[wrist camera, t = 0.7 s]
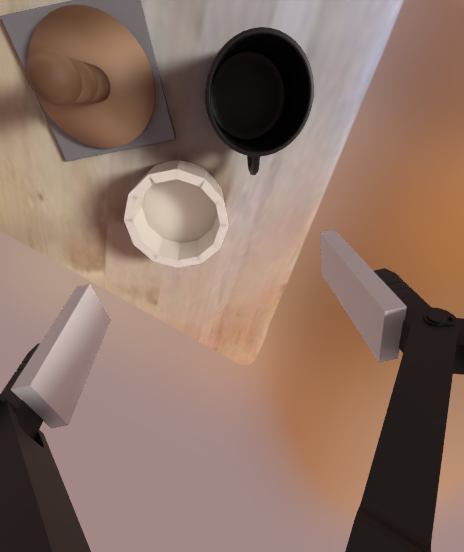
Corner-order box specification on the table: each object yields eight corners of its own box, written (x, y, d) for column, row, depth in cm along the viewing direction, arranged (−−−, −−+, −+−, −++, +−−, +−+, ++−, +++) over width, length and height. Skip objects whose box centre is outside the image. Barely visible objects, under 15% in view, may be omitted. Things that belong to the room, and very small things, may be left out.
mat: (3, 17, 27) (-1, 15, 27) (137, -12, 27) (136, -14, 26) (68, 160, 34) (66, 161, 34) (175, 138, 34) (175, 139, 33)
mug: (209, 168, 36) (211, 187, 28) (201, 46, 30) (200, 27, 22) (284, 164, 36) (305, 181, 29) (291, 44, 30) (321, 25, 22)
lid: (8, 21, 27) (-108, -25, 17) (132, -5, 27) (90, -68, 17) (68, 156, 33) (10, 180, 23) (169, 135, 33) (154, 151, 23)
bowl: (122, 170, 35) (108, 182, 30) (214, 151, 35) (216, 160, 30) (152, 252, 41) (145, 274, 36) (230, 237, 41) (234, 256, 36)
